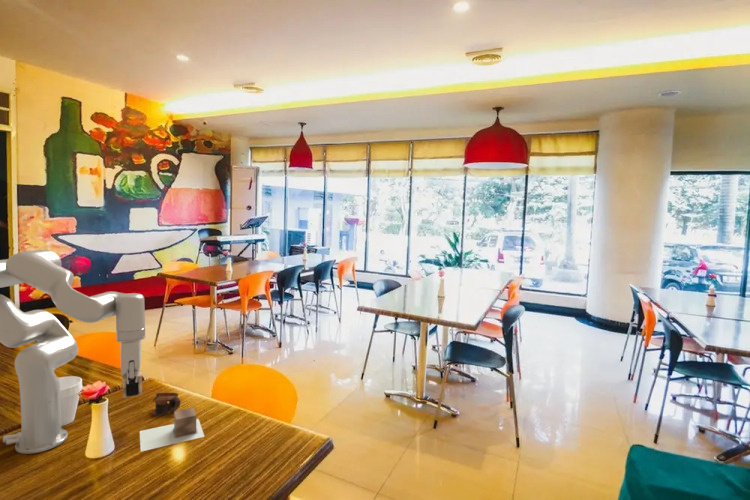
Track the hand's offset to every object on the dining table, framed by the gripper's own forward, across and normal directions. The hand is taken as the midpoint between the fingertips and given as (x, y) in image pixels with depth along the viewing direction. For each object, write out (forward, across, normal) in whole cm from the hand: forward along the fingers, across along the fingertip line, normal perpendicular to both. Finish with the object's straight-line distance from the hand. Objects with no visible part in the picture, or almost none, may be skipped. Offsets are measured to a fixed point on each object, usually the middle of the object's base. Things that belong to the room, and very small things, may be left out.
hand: (132, 390), depth 125 cm
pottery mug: (+18, -19, +10) cm, 28 cm away
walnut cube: (+17, 0, +15) cm, 22 cm away
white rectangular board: (+18, 0, +11) cm, 21 cm away
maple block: (+1, 0, 0) cm, 1 cm away
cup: (+17, -26, -21) cm, 38 cm away
